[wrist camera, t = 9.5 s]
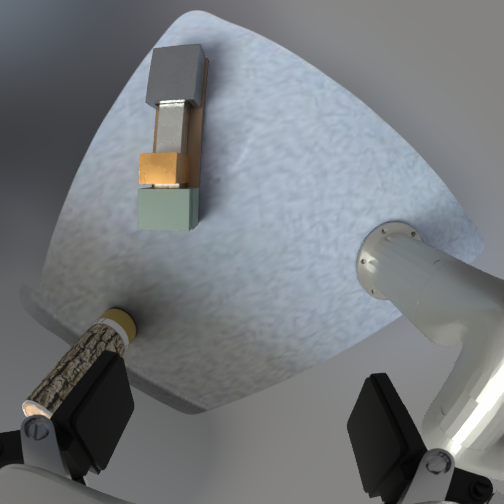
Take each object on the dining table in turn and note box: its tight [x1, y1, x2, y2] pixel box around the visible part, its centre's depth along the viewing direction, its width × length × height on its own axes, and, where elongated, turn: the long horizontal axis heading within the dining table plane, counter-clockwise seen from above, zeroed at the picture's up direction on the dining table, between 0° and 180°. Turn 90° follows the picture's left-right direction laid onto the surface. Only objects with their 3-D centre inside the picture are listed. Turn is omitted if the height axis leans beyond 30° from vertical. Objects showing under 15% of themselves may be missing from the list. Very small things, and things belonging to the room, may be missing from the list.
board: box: [152, 58, 209, 215], centre depth 35 cm, size 7×24×1 cm, turn 177°
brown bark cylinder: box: [23, 309, 136, 419], centre depth 31 cm, size 7×7×25 cm
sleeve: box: [146, 44, 206, 110], centre depth 30 cm, size 6×8×5 cm
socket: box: [138, 187, 199, 231], centre depth 34 cm, size 7×5×5 cm
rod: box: [139, 102, 191, 189], centre depth 31 cm, size 4×15×7 cm, turn 177°
